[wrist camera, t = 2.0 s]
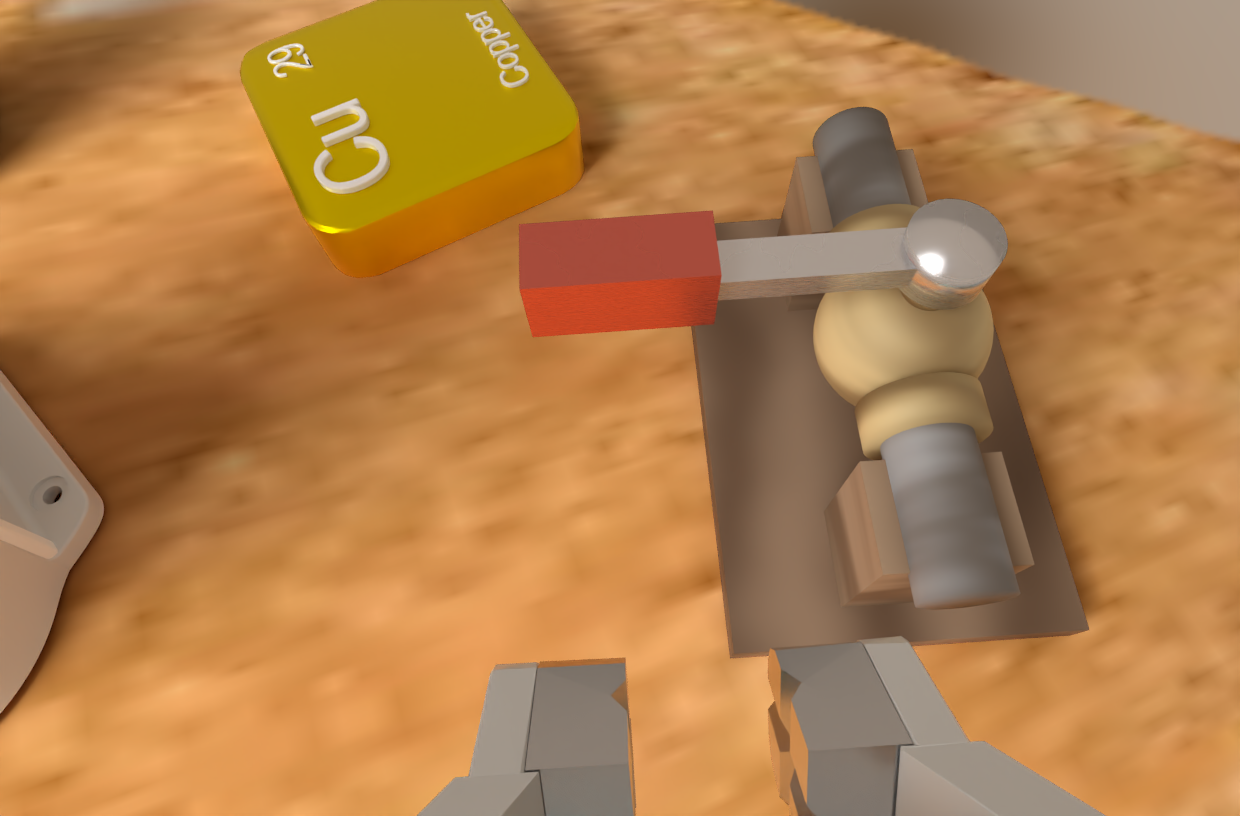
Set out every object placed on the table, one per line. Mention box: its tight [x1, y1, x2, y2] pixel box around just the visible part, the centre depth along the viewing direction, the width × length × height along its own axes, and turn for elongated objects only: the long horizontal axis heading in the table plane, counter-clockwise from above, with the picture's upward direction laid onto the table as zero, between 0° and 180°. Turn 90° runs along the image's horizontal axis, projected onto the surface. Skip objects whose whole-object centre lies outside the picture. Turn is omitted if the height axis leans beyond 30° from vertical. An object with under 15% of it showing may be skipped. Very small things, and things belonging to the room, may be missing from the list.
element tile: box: [240, 0, 584, 278], centre depth 42 cm, size 15×15×5 cm
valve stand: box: [691, 107, 1089, 658], centre depth 30 cm, size 14×21×11 cm, turn 4°
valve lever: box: [519, 199, 1008, 337], centre depth 24 cm, size 15×3×3 cm, turn 93°
